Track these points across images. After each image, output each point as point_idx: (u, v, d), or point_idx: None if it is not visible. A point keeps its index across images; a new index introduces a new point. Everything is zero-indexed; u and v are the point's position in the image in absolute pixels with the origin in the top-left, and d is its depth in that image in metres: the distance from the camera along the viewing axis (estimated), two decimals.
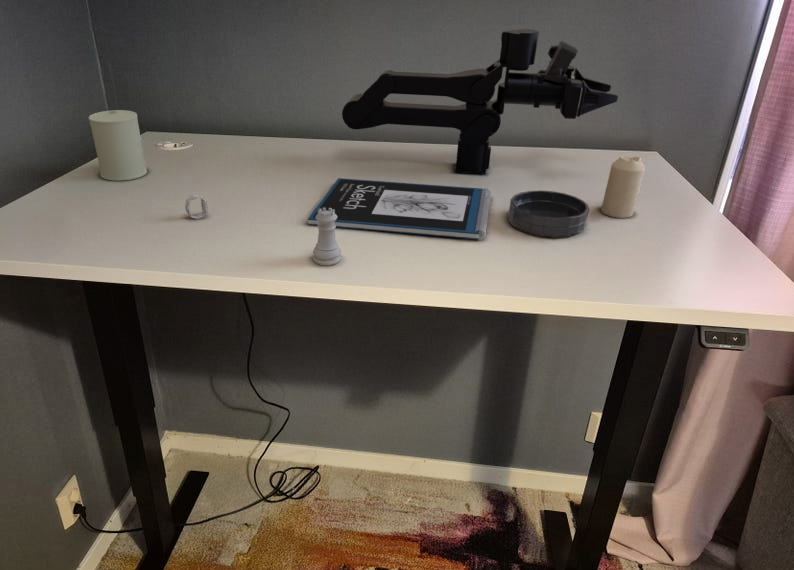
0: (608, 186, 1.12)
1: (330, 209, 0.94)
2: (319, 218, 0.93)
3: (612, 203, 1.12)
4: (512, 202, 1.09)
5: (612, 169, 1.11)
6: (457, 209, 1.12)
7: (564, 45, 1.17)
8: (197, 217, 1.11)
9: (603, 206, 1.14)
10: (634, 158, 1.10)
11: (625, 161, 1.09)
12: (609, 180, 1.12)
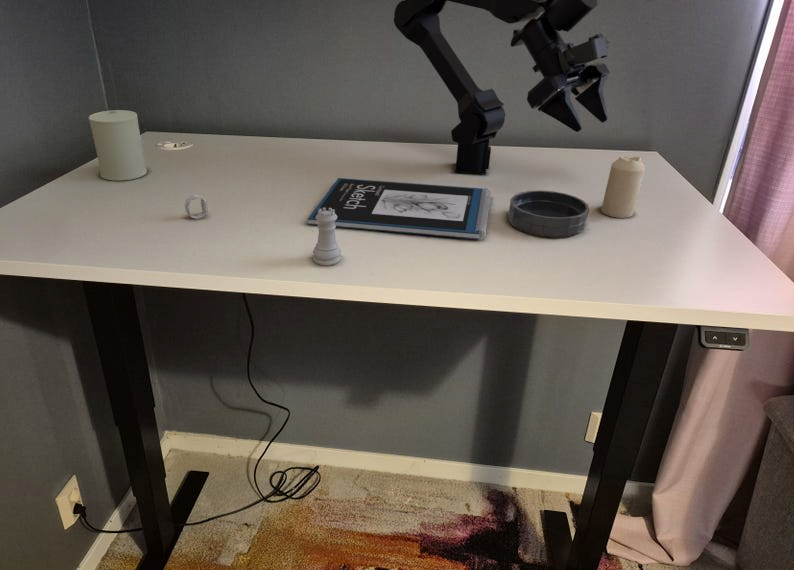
0: (608, 186, 1.12)
1: (330, 209, 0.94)
2: (319, 218, 0.93)
3: (612, 203, 1.12)
4: (512, 202, 1.09)
5: (612, 169, 1.11)
6: (457, 209, 1.12)
7: (593, 41, 1.05)
8: (197, 217, 1.11)
9: (603, 206, 1.14)
10: (634, 158, 1.10)
11: (625, 161, 1.09)
12: (609, 180, 1.12)
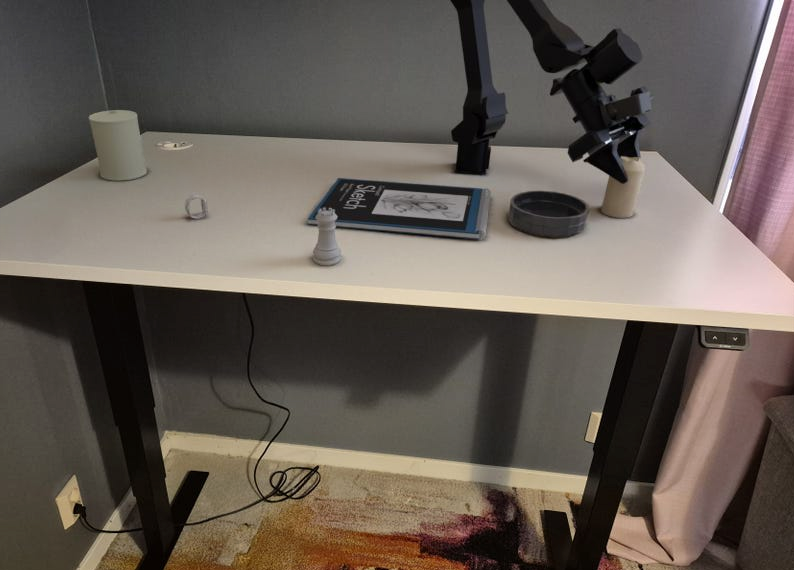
0: (608, 186, 1.12)
1: (330, 209, 0.94)
2: (319, 218, 0.93)
3: (612, 203, 1.12)
4: (512, 202, 1.09)
5: None
6: (457, 209, 1.12)
7: (638, 97, 1.03)
8: (197, 217, 1.11)
9: (603, 206, 1.14)
10: (634, 158, 1.10)
11: (625, 161, 1.09)
12: (609, 180, 1.12)
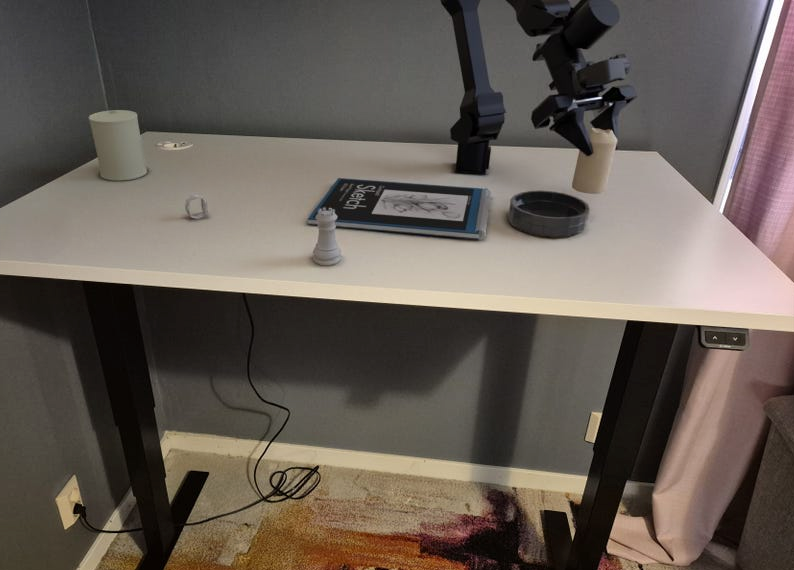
0: (577, 159, 1.07)
1: (330, 209, 0.94)
2: (319, 218, 0.93)
3: (579, 177, 1.07)
4: (512, 202, 1.09)
5: None
6: (457, 209, 1.12)
7: (605, 62, 0.97)
8: (197, 217, 1.11)
9: (573, 180, 1.09)
10: (607, 131, 1.04)
11: (593, 132, 1.03)
12: (579, 152, 1.06)
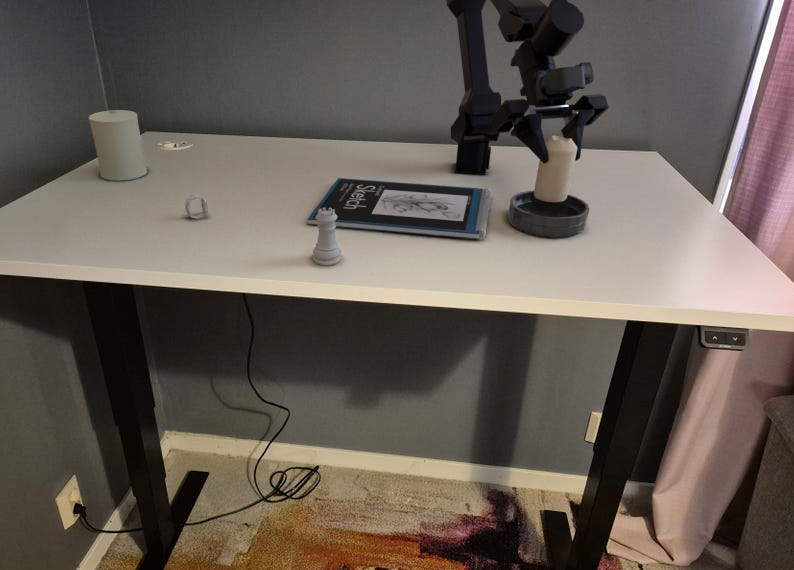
0: None
1: (330, 209, 0.94)
2: (319, 218, 0.93)
3: (537, 184, 1.06)
4: (512, 202, 1.09)
5: None
6: (457, 209, 1.12)
7: (561, 70, 0.97)
8: (197, 217, 1.11)
9: None
10: (568, 139, 1.03)
11: (552, 140, 1.02)
12: None
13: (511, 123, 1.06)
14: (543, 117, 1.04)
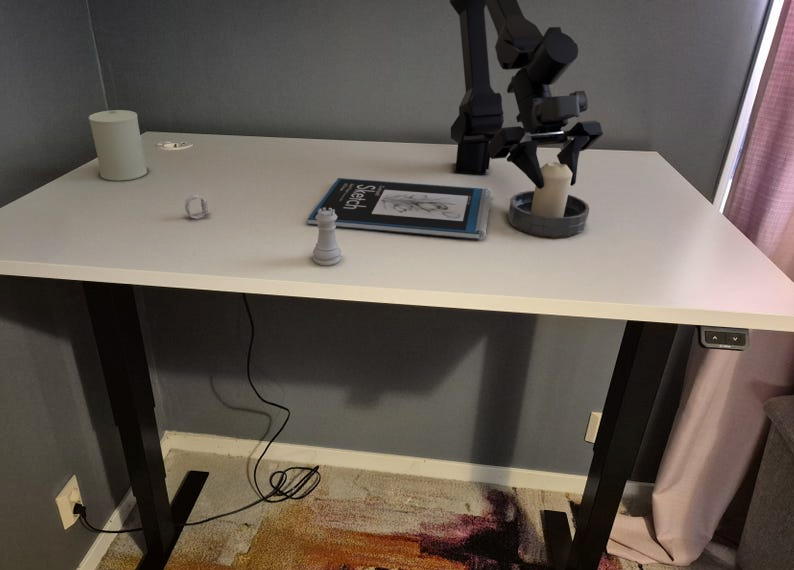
0: (534, 191, 1.08)
1: (330, 209, 0.94)
2: (319, 218, 0.93)
3: (533, 208, 1.09)
4: (512, 202, 1.09)
5: None
6: (457, 209, 1.12)
7: (556, 99, 0.99)
8: (197, 217, 1.11)
9: None
10: (563, 165, 1.05)
11: (547, 166, 1.05)
12: None
13: (508, 149, 1.08)
14: (539, 143, 1.07)
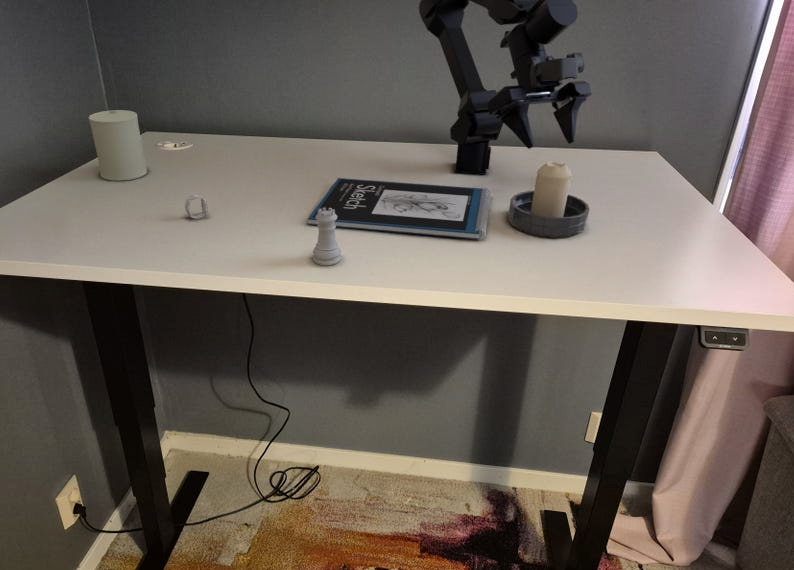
0: (534, 191, 1.09)
1: (330, 209, 0.94)
2: (319, 218, 0.93)
3: (533, 208, 1.09)
4: (512, 202, 1.09)
5: None
6: (457, 209, 1.12)
7: (559, 61, 1.03)
8: (197, 217, 1.11)
9: None
10: (563, 165, 1.05)
11: (547, 166, 1.05)
12: None
13: None
14: (535, 102, 1.10)
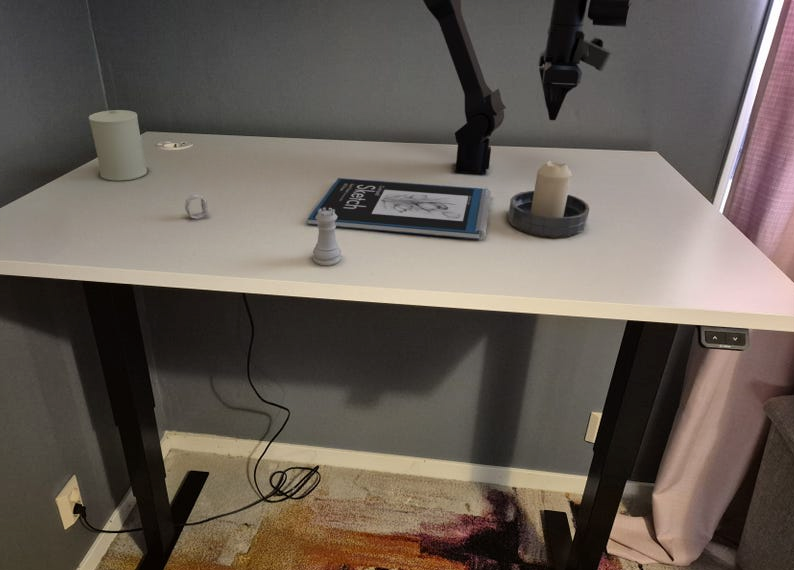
0: (534, 191, 1.09)
1: (330, 209, 0.94)
2: (319, 218, 0.93)
3: (533, 208, 1.09)
4: (512, 202, 1.09)
5: None
6: (457, 209, 1.12)
7: (609, 56, 1.13)
8: (197, 217, 1.11)
9: None
10: (563, 165, 1.05)
11: (547, 166, 1.05)
12: None
13: None
14: None
